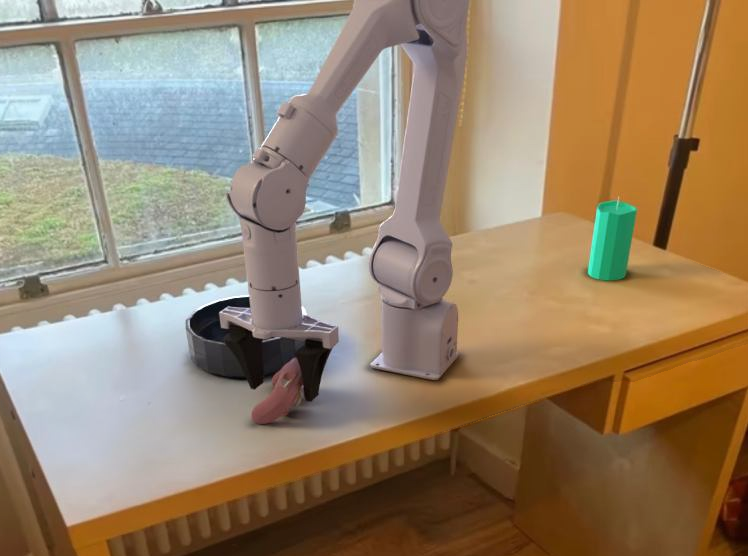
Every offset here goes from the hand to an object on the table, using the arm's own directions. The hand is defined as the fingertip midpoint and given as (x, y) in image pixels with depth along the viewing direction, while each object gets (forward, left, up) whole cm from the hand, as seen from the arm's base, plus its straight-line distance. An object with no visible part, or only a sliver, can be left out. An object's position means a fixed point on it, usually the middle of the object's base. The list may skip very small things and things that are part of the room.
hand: (284, 391), depth 96 cm
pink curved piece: (0, 0, -2) cm, 2 cm away
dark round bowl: (+12, -11, -2) cm, 16 cm away
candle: (-26, -58, -2) cm, 64 cm away
